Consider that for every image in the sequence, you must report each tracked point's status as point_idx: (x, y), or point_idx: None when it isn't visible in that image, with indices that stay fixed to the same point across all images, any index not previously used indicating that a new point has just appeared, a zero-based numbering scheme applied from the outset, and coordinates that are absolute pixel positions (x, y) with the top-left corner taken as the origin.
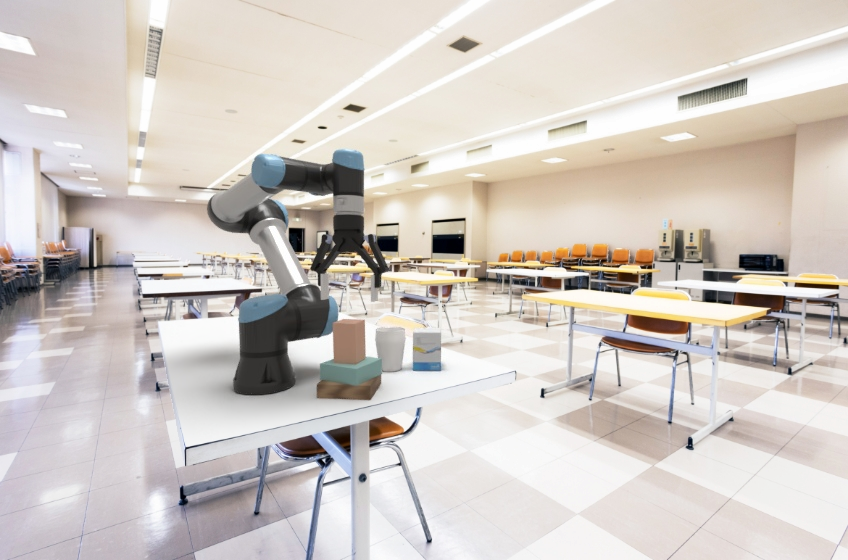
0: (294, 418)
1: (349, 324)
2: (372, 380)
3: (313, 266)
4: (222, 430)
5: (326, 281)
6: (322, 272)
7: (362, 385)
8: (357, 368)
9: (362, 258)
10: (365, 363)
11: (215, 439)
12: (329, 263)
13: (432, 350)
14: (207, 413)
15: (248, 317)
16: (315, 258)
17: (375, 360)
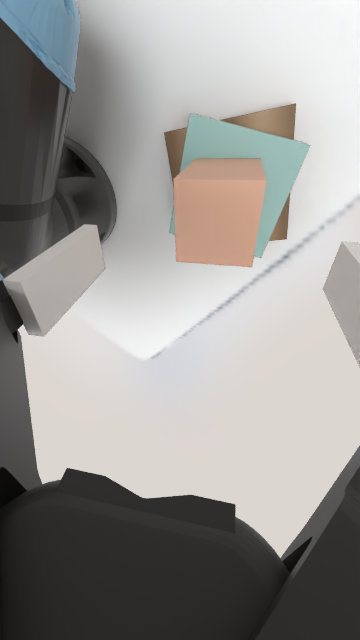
0: (197, 308)
1: (232, 265)
2: (285, 204)
3: None
4: (145, 339)
5: (58, 280)
6: (16, 323)
7: (270, 240)
8: (262, 253)
9: (331, 488)
10: (271, 210)
11: (154, 353)
12: (14, 366)
13: None
14: (95, 308)
15: None
16: None
17: (293, 173)
